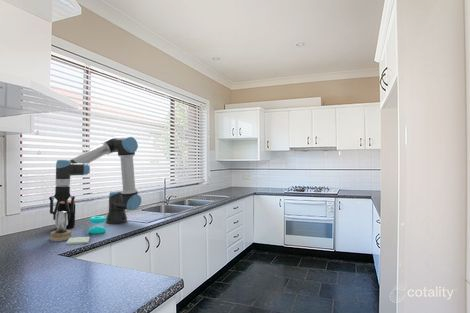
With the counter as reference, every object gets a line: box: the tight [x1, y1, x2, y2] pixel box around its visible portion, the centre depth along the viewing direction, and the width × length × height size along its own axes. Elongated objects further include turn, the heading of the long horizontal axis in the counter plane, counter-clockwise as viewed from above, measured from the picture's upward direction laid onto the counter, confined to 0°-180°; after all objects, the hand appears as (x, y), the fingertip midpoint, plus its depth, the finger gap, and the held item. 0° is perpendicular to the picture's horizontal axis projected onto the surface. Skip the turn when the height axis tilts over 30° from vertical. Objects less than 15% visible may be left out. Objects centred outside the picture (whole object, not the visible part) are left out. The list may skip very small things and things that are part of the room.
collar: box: [49, 229, 72, 242], centre depth 180 cm, size 10×10×4 cm
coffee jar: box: [57, 199, 76, 230], centre depth 208 cm, size 11×11×18 cm
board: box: [65, 236, 91, 246], centre depth 176 cm, size 11×11×1 cm
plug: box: [56, 211, 67, 233], centre depth 181 cm, size 5×5×13 cm
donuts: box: [88, 215, 107, 235], centre depth 197 cm, size 10×10×10 cm
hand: (61, 225), depth 181 cm, fingers closed on plug, 5 cm apart
